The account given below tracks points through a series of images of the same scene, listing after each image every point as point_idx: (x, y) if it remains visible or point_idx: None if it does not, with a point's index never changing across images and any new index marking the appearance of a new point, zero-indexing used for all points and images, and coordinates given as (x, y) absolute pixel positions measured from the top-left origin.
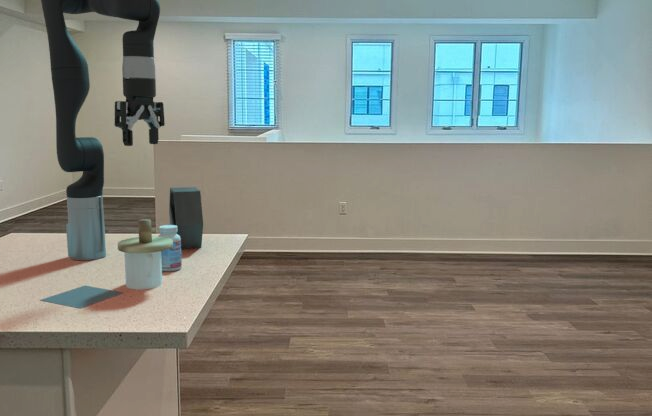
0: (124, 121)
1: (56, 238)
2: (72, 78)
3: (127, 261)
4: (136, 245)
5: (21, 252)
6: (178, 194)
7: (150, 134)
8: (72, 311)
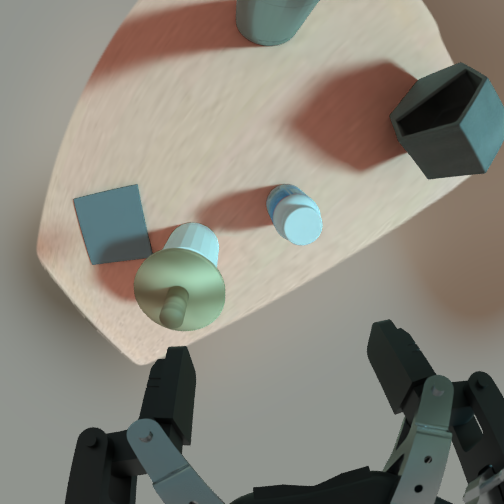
0: (124, 484)
1: None
2: None
3: None
4: (153, 302)
5: None
6: (458, 135)
7: (394, 364)
8: (87, 256)
